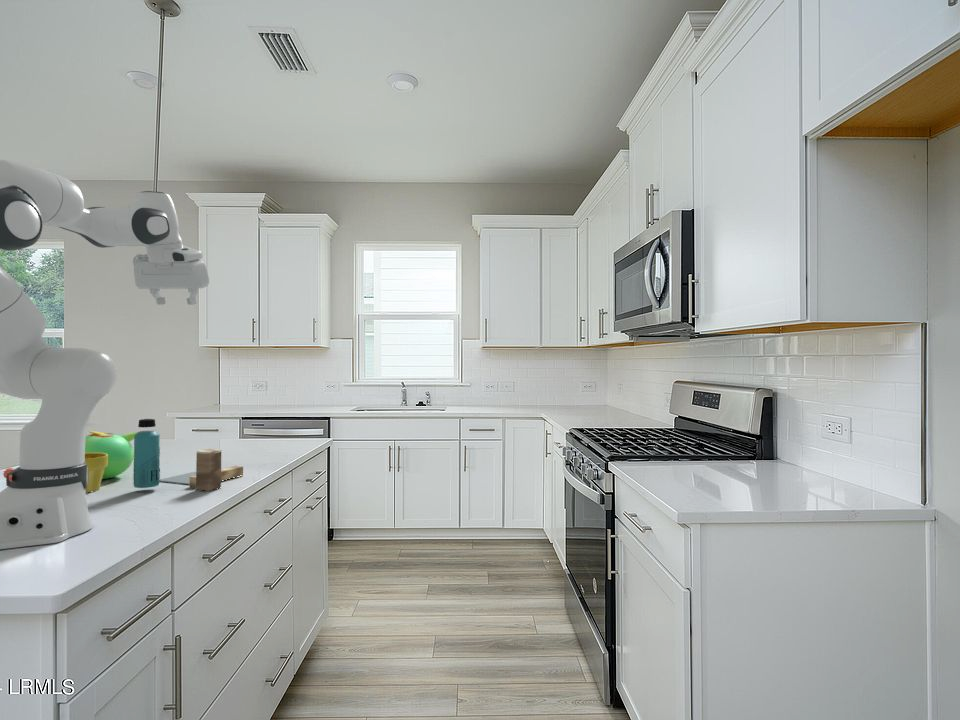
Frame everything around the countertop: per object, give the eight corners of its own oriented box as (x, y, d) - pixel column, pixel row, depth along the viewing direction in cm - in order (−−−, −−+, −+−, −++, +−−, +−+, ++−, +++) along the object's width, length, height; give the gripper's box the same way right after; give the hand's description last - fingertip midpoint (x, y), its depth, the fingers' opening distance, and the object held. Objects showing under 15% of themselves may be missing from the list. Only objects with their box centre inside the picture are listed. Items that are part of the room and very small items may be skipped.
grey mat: (193, 485, 165) (193, 484, 165) (157, 481, 169) (157, 480, 169) (229, 476, 178) (229, 475, 178) (194, 472, 183) (194, 471, 183)
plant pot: (97, 494, 153) (98, 458, 153) (54, 495, 150) (54, 459, 150) (113, 486, 163) (114, 452, 163) (73, 487, 160) (73, 452, 160)
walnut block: (208, 491, 158) (209, 452, 158) (195, 490, 159) (196, 451, 159) (220, 488, 162) (221, 449, 162) (208, 486, 163) (209, 448, 163)
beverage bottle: (151, 493, 154) (152, 420, 154) (126, 493, 154) (128, 420, 154) (164, 488, 161) (165, 418, 161) (141, 487, 161) (142, 417, 161)
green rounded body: (52, 481, 167) (53, 431, 167) (105, 471, 183) (106, 425, 183) (98, 486, 162) (99, 435, 162) (148, 475, 178) (149, 428, 178)
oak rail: (197, 488, 162) (197, 477, 162) (189, 487, 163) (189, 476, 163) (243, 476, 179) (243, 466, 179) (235, 475, 180) (235, 465, 180)
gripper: (123, 256, 151) (134, 306, 155) (192, 255, 148) (202, 306, 152) (140, 252, 157) (151, 301, 161) (207, 251, 154) (216, 301, 158)
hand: (176, 304), depth 157 cm, fingers open, 8 cm apart
